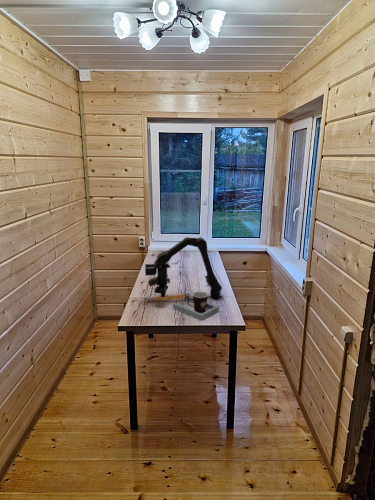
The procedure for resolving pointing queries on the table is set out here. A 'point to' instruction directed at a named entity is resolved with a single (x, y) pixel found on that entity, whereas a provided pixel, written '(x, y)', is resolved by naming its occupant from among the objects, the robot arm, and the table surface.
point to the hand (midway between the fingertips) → (162, 298)
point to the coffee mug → (199, 301)
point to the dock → (195, 314)
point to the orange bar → (172, 297)
